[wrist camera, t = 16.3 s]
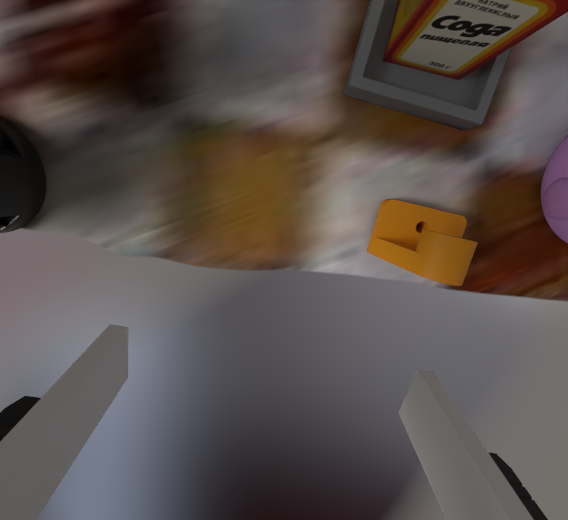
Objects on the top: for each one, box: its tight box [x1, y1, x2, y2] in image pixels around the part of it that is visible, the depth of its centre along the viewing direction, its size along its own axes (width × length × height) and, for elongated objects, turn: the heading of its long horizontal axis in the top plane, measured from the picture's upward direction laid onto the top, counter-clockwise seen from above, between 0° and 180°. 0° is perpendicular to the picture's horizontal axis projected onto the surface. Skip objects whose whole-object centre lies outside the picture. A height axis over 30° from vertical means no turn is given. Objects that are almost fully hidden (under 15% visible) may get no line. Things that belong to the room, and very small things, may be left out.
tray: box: [343, 0, 512, 130], centre depth 35 cm, size 16×16×4 cm
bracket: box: [367, 199, 478, 286], centre depth 36 cm, size 11×7×12 cm, turn 77°
